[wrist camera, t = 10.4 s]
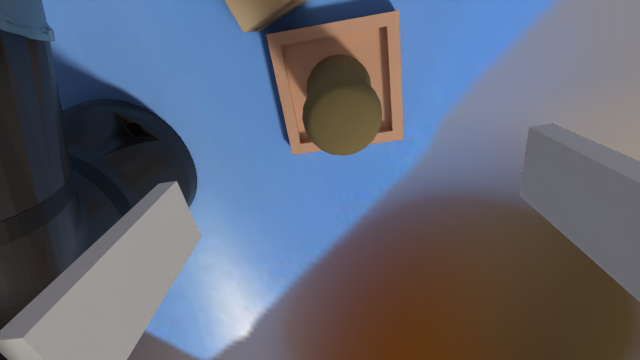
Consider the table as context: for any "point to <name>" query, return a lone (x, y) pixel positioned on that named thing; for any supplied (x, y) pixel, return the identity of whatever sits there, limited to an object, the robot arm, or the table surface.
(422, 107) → the table surface
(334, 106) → the cork
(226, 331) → the table surface
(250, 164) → the table surface
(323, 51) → the terracotta dish
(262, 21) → the oak block
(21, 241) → the robot arm
